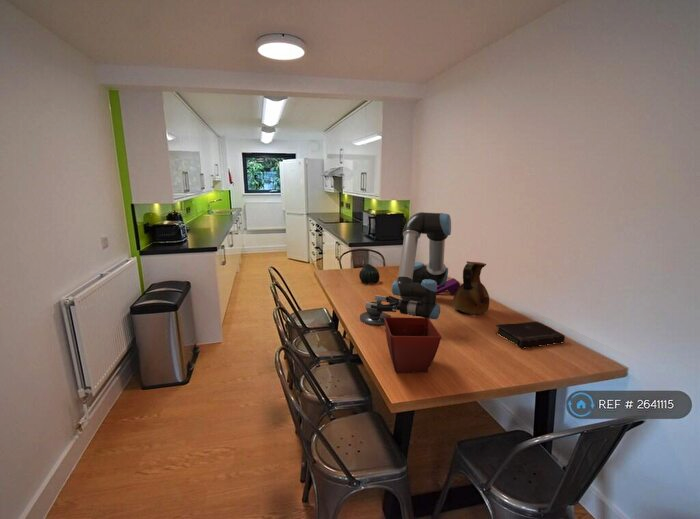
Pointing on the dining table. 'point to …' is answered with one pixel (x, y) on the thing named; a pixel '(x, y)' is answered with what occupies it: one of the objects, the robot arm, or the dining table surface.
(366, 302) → the robot arm
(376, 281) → the squash
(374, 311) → the mortar and pestle
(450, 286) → the mounting bracket
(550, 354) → the dining table surface
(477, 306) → the ceramic pitcher
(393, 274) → the dining table surface
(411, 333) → the plant pot
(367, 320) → the disc
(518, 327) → the diary
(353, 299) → the dining table surface
